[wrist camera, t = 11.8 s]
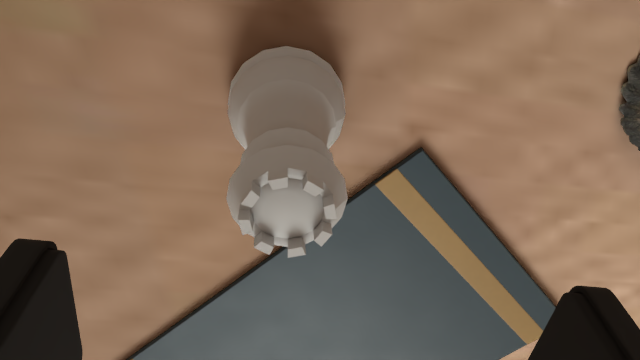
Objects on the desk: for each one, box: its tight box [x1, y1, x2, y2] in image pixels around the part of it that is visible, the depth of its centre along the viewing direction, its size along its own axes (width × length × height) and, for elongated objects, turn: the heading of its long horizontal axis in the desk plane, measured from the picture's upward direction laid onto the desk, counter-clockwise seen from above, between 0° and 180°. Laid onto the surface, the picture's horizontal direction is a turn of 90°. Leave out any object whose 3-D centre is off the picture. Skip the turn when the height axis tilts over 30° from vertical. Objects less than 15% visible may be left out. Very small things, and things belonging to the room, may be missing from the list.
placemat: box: [127, 148, 556, 360], centre depth 27 cm, size 21×14×1 cm, turn 130°
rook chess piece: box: [227, 46, 348, 258], centre depth 16 cm, size 4×4×8 cm
